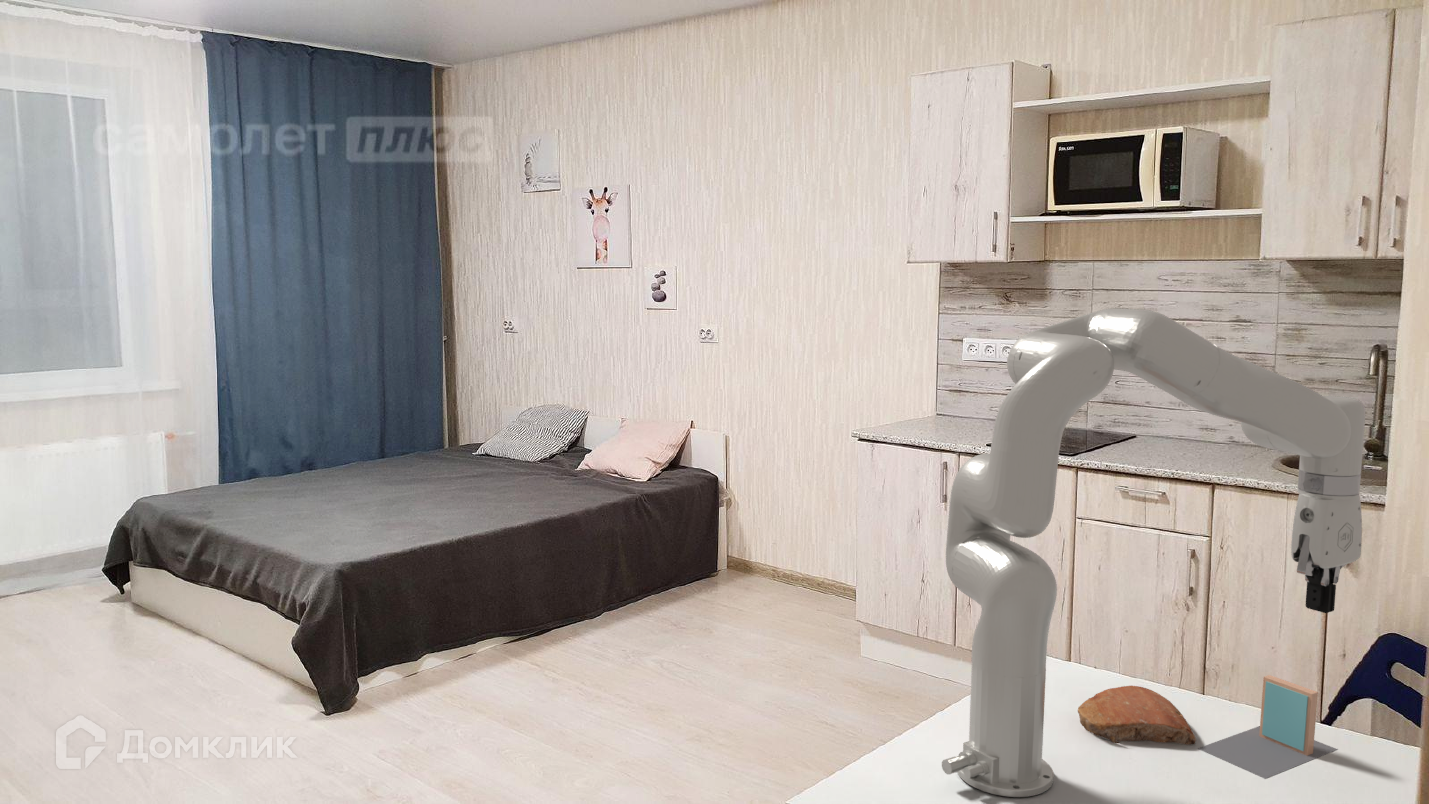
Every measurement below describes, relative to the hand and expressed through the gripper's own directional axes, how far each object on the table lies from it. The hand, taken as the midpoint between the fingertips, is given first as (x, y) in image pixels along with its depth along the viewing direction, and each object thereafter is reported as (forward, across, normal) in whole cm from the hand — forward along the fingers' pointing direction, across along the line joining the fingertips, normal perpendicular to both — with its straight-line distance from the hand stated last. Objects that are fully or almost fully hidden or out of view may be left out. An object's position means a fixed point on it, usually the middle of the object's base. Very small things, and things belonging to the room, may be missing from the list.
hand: (1319, 609), depth 147 cm
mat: (+19, -10, 0) cm, 22 cm away
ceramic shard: (+20, -20, +16) cm, 32 cm away
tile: (+19, -6, 0) cm, 20 cm away
